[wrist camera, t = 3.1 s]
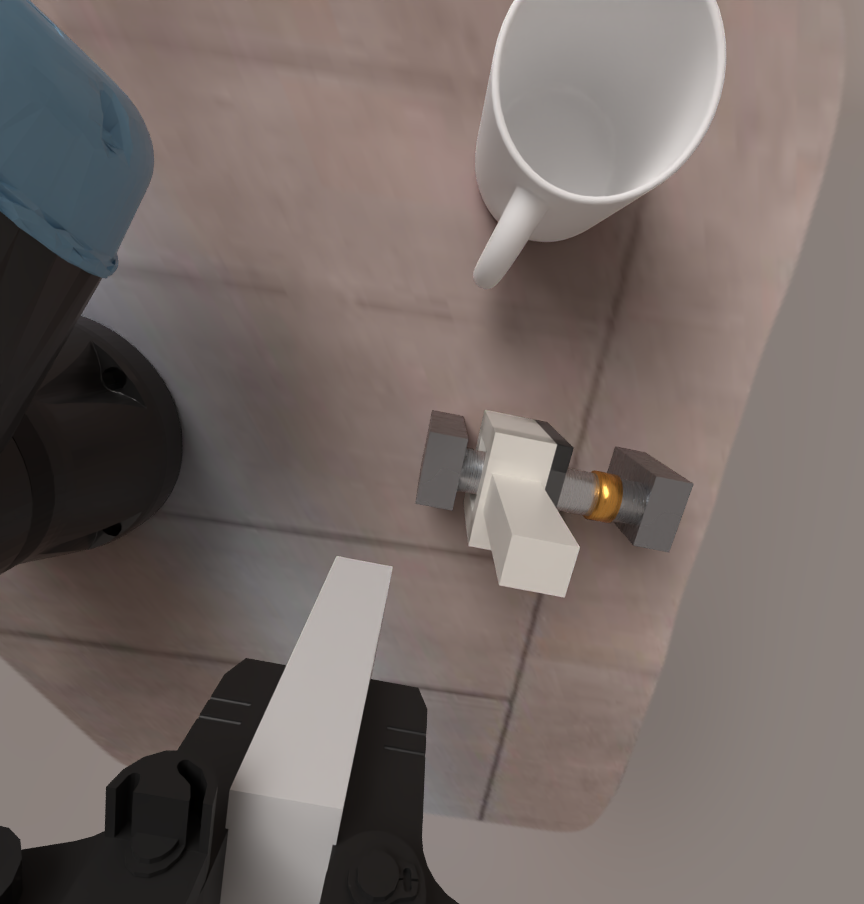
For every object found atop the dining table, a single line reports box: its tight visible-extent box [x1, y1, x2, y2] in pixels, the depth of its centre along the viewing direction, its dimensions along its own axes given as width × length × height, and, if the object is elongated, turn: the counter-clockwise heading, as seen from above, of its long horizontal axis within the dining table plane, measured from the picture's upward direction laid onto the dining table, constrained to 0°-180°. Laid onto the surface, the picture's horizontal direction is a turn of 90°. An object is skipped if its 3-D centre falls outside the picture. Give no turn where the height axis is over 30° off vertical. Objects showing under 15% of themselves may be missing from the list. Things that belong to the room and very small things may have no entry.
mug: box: [473, 0, 726, 289], centre depth 23 cm, size 12×8×10 cm
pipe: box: [416, 410, 693, 552], centre depth 29 cm, size 14×4×6 cm, turn 79°
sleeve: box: [463, 410, 580, 598], centre depth 23 cm, size 4×6×13 cm, turn 169°
